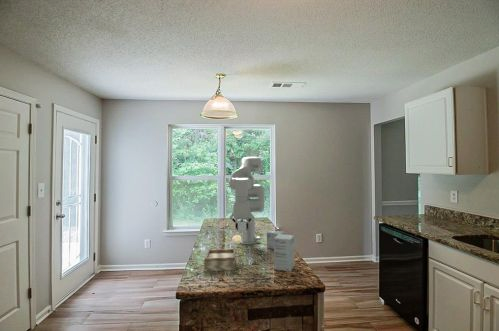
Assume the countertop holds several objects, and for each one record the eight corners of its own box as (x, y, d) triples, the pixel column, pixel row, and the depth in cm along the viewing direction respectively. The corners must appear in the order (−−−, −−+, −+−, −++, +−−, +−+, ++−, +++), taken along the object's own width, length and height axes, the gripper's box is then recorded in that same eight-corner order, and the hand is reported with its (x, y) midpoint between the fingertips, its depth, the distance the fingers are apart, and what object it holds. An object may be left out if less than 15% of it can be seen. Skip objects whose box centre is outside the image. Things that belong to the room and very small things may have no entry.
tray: (235, 260, 162) (235, 249, 162) (234, 270, 146) (234, 257, 147) (208, 260, 162) (208, 249, 162) (204, 270, 146) (204, 258, 146)
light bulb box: (284, 247, 187) (284, 231, 187) (281, 250, 181) (281, 233, 181) (270, 245, 192) (269, 230, 192) (266, 248, 186) (266, 232, 186)
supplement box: (279, 263, 156) (278, 233, 156) (295, 265, 152) (294, 235, 152) (273, 269, 147) (273, 237, 147) (290, 271, 143) (290, 239, 143)
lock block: (245, 229, 168) (245, 218, 168) (246, 231, 161) (246, 220, 161) (237, 229, 168) (237, 218, 168) (237, 232, 161) (237, 220, 161)
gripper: (255, 198, 169) (255, 228, 168) (227, 198, 168) (227, 228, 168) (256, 199, 161) (256, 230, 161) (227, 200, 160) (227, 231, 160)
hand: (241, 229), depth 164 cm, fingers closed on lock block, 5 cm apart
